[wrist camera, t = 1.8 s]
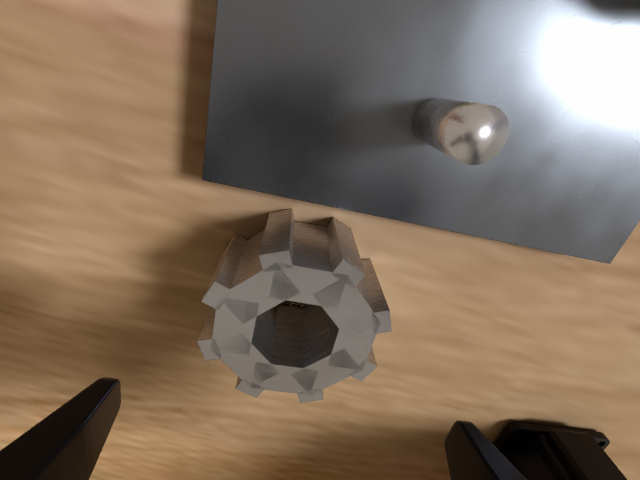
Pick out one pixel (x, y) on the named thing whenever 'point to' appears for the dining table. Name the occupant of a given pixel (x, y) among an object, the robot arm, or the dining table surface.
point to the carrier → (437, 113)
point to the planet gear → (294, 309)
